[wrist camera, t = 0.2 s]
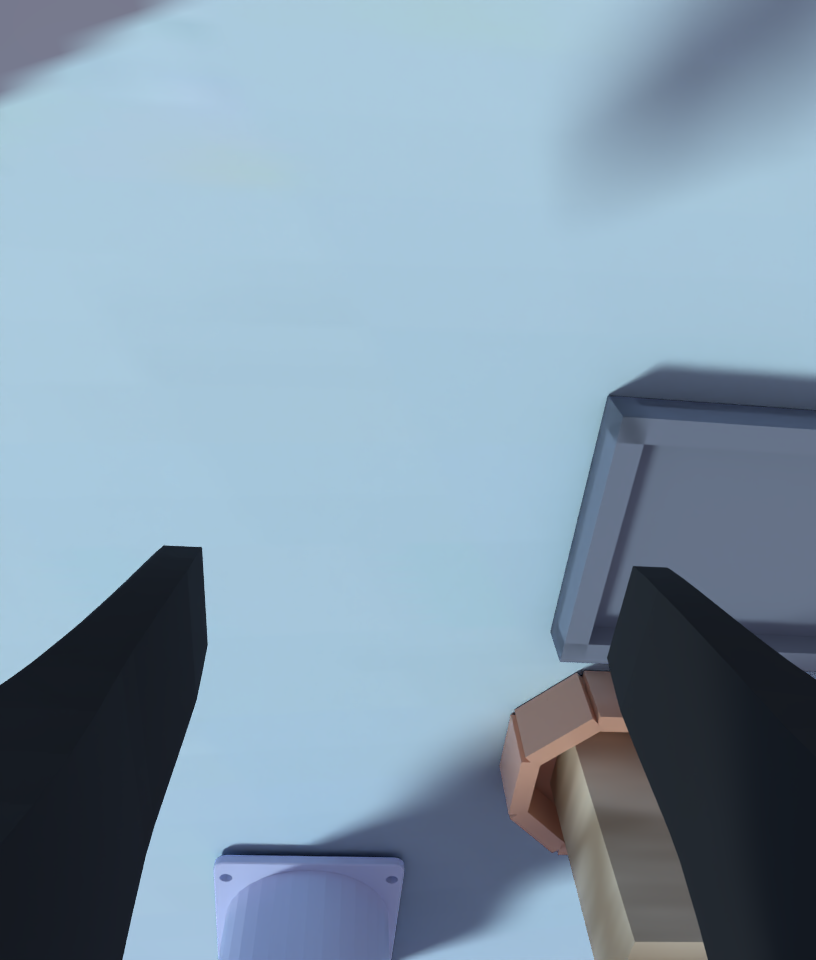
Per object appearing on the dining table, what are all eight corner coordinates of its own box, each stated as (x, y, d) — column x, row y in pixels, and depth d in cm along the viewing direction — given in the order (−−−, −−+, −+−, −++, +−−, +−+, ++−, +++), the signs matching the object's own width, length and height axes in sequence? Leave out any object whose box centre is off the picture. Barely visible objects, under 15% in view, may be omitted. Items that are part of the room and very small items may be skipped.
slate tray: (870, 645, 27) (895, 674, 26) (550, 631, 26) (560, 661, 25) (986, 422, 23) (1023, 444, 21) (607, 395, 22) (623, 416, 20)
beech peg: (635, 785, 29) (717, 1007, 22) (549, 783, 29) (606, 1008, 22) (657, 722, 28) (754, 942, 21) (567, 719, 27) (634, 941, 20)
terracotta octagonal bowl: (665, 808, 31) (685, 856, 29) (490, 804, 30) (498, 853, 28) (719, 675, 27) (745, 721, 26) (521, 668, 27) (532, 714, 25)
